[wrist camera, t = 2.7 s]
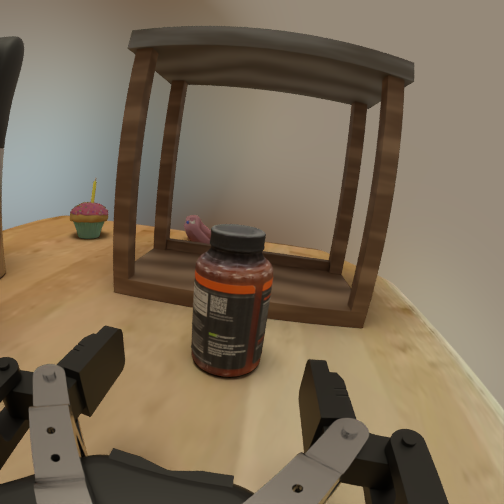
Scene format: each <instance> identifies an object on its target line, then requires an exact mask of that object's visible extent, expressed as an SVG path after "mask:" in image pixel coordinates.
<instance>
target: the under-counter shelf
mask: <svg viewBox="0 0 504 504" xmlns="http://www.w3.org/2000/svg"><path fill="white" fill-rule="evenodd" d="M128 49H129V50H130V51H132V52H133V53H134V54H135V60H134V64H133V68H132V73H131V78H130V83H129V88H128V93H127V99H126V105H125V111H124V117H123V124H122V132H121V139H120V147H119V157H118V166H117V178H116V189H115V206H114V233H113V275H114V292H116V293H121V294H125V295H130V296H135V297H140V298H145V299H151V300H156V301H161V302H167V303H172V304H178V305H183V306H189V307H193V298H194V280H195V266H196V262H197V260H198V258H199V257H200V256H201V255H202V254H203V253H205V252H207V251H208V250H209V249H210V248H211V244H207V243H200V242H192V241H185V240H178V239H170V225H171V212H172V199H173V189H174V178H175V170H176V161H177V152H178V145H179V137H180V130H181V123H182V116H183V110H184V103H185V97H186V91H187V85H213V86H229V87H241V88H252V89H262V90H270V91H278V92H285V93H292V94H298V95H304V96H310V97H316V98H321V99H326V100H332V101H336V102H341V103H346V104H350V105H352V106H351V116H350V125H349V134H348V143H347V151H346V158H345V166H344V173H343V180H342V187H341V194H340V200H339V206H338V212H337V218H336V224H335V229H334V235H333V241H332V246H331V251H330V256H329V260H323V259H316V258H308V257H301V256H294V255H287V254H280V253H272V252H265V251H262V254H263V256H264V257H265V258H266V259H267V260H268V261H269V262H270V263H271V265H272V267H273V281H272V290H271V295H270V302H269V309H268V315H267V318H270V319H278V320H286V321H294V322H303V323H313V324H322V325H333V326H343V327H355V328H363V325H364V322H365V318H366V315H367V311H368V308H369V304H370V301H371V297H372V293H373V290H374V286H375V282H376V278H377V274H378V270H379V265H380V261H381V256H382V252H383V248H384V243H385V238H386V233H387V228H388V222H389V217H390V212H391V206H392V200H393V194H394V188H395V181H396V174H397V167H398V158H399V150H400V141H401V130H402V118H403V103H404V87H406V86H407V85H409V84H411V83H412V82H414V63H413V62H410V61H408V60H405V59H402V58H399V57H396V56H393V55H390V54H387V53H383V52H380V51H377V50H373V49H369V48H366V47H362V46H359V45H354V44H350V43H346V42H342V41H337V40H333V39H328V38H323V37H318V36H312V35H307V34H300V33H294V32H287V31H279V30H271V29H260V28H248V27H230V26H181V27H163V28H152V29H141V30H133V31H132V34H131V38H130V41H129V45H128ZM155 71H156V72H157V73H158V74H159V75H161V76H162V77H163V78H164V79H166V80H167V81H168V82H169V83H170V84H172V85H171V91H170V96H169V103H168V109H167V115H166V122H165V129H164V136H163V144H162V152H161V160H160V169H159V179H158V190H157V201H156V203H157V204H156V216H155V230H154V249H152V250H151V251H149V252H148V253H146V254H145V255H144V256H142V257H141V258H139V259H138V260H136V261H135V236H136V215H137V214H136V213H137V199H138V186H139V175H140V164H141V155H142V147H143V139H144V132H145V125H146V118H147V111H148V105H149V99H150V94H151V88H152V83H153V77H154V72H155ZM379 102H381V108H380V109H381V110H380V121H379V130H378V140H377V149H376V157H375V165H374V172H373V180H372V186H371V192H370V199H369V205H368V211H367V216H366V222H365V228H364V232H363V238H362V243H361V247H360V252H359V257H358V262H357V266H356V271H355V275H354V279H353V283H352V288H350V287H349V285H348V284H347V282H346V281H345V279H344V278H343V276H342V275H341V273H342V269H343V264H344V259H345V254H346V249H347V244H348V238H349V234H350V228H351V223H352V217H353V212H354V206H355V200H356V193H357V187H358V180H359V173H360V165H361V158H362V150H363V142H364V133H365V123H366V113H367V109H369V108H371V107H372V106H374V105H375V104H377V103H379Z"/></svg>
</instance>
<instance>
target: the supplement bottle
mask: <svg viewBox="0 0 504 504" xmlns="http://www.w3.org/2000/svg"><path fill="white" fill-rule="evenodd" d="M265 236H266V234H265V232H264V231H262V230H260V229H257V228H254V227H250V226H244V225H235V224H222V225H215V226H213V227H212V229H211V238H210V244H211V248H210V249H209V250H208V251H207V252H205V253H203V254H202V255H201V256H200V257H199V258H198V260H197V262H196V266H195V280H194V298H193V320H192V345H191V348H192V357H193V360H194V361H195V363H196V364H197V365H198V366H199V367H200V368H201V369H203V370H205V371H207V372H208V373H211V374H214V375H219V376H225V377H233V376H240V375H244V374H247V373H249V372H251V371H252V370H254V369H255V368H256V367H257V365H258V364H259V362H260V357H261V353H262V347H263V341H264V335H265V328H266V322H267V315H268V309H269V302H270V295H271V290H272V281H273V267H272V265H271V263H270V262H269V261H268V260H267V259H266V258H265V257H264V256H263V254H262V251H263V250H264V248H265V247H264V243H265Z"/></svg>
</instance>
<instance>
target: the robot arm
mask: <svg viewBox="0 0 504 504" xmlns="http://www.w3.org/2000/svg"><path fill="white" fill-rule="evenodd" d="M23 56H24V44H23V41H22V39H20V38H19V37H2V38H0V277H2V276H3V275H4V274H5V272H6V269H5V260H4V249H3V234H2V198H1V197H2V168H3V154H4V149H3V148H4V144H5V136H6V131H7V126H8V120H9V114H10V109H11V104H12V99H13V96H14V92H15V88H16V84H17V81H18V77H19V74H20V70H21V66H22V61H23ZM124 364H125V354H124V343H123V333H122V330H121V329H118V328H114V327H109V326H104V327H103V328H102V329H101V330H100V331H99V332H98V333H97V334H94V333H93V334H91V335H89V336H87V337H85V338H83V339H82V340H81V341H80V342H79V343H78V345H76V346H75V347H74V348H73V350H71V351H70V352H69V353H68V354H67V355H66V356H65V357H64V358H63V359H62V360H61V361H60V362H59V363H58V364H57V365H54V364H46V365H42V366H40V367H38V368H37V369H36V370H35V371H34V372H29V371H23V370H20V369H19V365H18V363H17V361H16V360H15V359H13V358H10V357H3V358H0V403H1V401H2V400H3V402H4V405H5V407H4V408H3V410H2V411H1V412H0V470H1V468H2V467H3V465H4V464H5V462H6V461H7V459H8V458H9V456H10V455H11V453H12V452H13V450H14V449H15V447H16V446H17V444H18V443H19V442H20V440H21V439H22V437H23V436H24V435H25V433H26V432H27V430H28V429H29V428H30V439H31V449H32V458H33V466H34V472H35V474H34V475H30V476H27V477H24V478H21V479H17V480H14V481H10V482H6V483H3V484H0V504H325V503H326V502H327V500H328V499H329V498H330V497H331V496H332V494H333V493H334V492H335V490H336V489H337V488H338V487H339V485H340V484H341V483H346V484H351V485H356V486H362V487H363V490H364V496H365V503H366V504H449V503H448V500H447V497H446V495H445V492H444V489H443V486H442V484H441V481H440V478H439V475H438V473H437V470H436V468H435V465H434V462H433V460H432V457H431V455H430V452H429V450H428V447H427V445H426V443H425V440H424V438H423V437H422V436H421V435H420V434H419V433H417V432H415V431H413V430H410V429H400V430H397V431H395V432H394V433H393V434H392V436H391V438H390V437H384V436H379V435H374V434H371V433H369V430H368V428H367V427H366V425H364V424H363V423H362V422H360V421H358V420H356V417H355V413H354V410H353V407H352V404H351V401H350V398H349V397H348V396H349V395H348V392H347V390H346V386H345V383H344V380H343V379H342V378H341V377H340V376H339V375H338V374H337V373H334V372H329V369H328V365H327V362H326V361H325V360H311V359H308V361H307V363H306V367H305V371H304V375H303V378H302V382H301V386H300V390H299V408H300V417H301V427H302V436H303V446H304V453H302V452H301V453H299V454H298V455H297V456H296V457H295V458H293V459H292V460H291V461H290V462H289V463H288V464H287V465H286V466H285V467H284V468H283V469H282V470H281V471H280V472H279V473H278V474H277V475H275V476H274V477H273V478H272V479H271V480H270V481H269V482H268V483H266V484H265V485H264V486H263V487H262V488H261V489H260V490H258V491H257V492H256V493H255V494H254V493H253V492H251V491H249V490H247V489H246V488H243V487H241V486H239V485H236V484H233V479H234V476H232V475H225V474H218V473H211V472H205V471H170V470H167V469H164V468H162V467H160V466H158V465H156V464H154V463H152V462H150V461H148V460H146V459H144V458H142V457H140V456H137V455H133V454H130V453H127V452H124V451H121V450H118V449H115V448H113V450H112V451H111V453H110V455H91V456H88V454H87V450H86V447H85V443H84V439H83V435H82V431H81V427H80V423H79V419H78V417H79V415H80V414H84V415H87V416H89V417H91V416H92V414H93V413H94V411H95V410H96V408H97V407H98V405H99V404H100V402H101V401H102V399H103V398H104V397H105V395H106V394H107V392H108V391H109V389H110V388H111V386H112V385H113V384H114V382H115V381H116V379H117V378H118V376H119V375H120V374H121V372H122V370H123V368H124Z"/></svg>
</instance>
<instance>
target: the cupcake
mask: <svg viewBox="0 0 504 504" xmlns="http://www.w3.org/2000/svg"><path fill="white" fill-rule="evenodd" d="M95 190H96V179H95V181H94V183H93V190H92V199H91V202H87V203H86V202H83V203H81V204H79V205H77V206H75V207H74V208H73V209H72V211H71V212H70V221H73V222H74V224H75V227H76V230H77V234H78V237H80V238H83V239H93V238H97V237H99V236H100V232H101V229H102V226H103V224H104V222H105V221H107V219H108V210H107V209H106V207H104V206H103V205H100V204H98V203H94V198H95Z"/></svg>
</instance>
